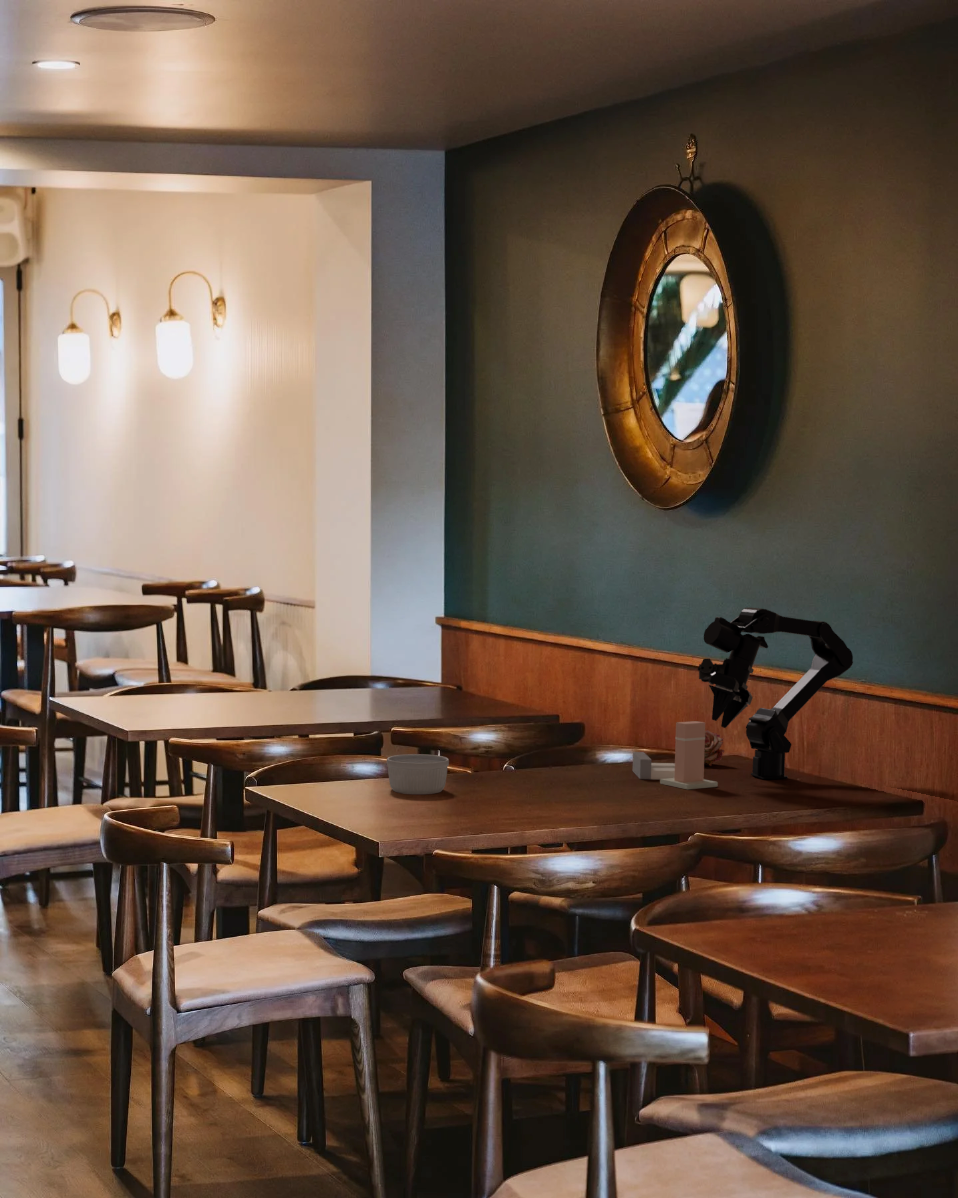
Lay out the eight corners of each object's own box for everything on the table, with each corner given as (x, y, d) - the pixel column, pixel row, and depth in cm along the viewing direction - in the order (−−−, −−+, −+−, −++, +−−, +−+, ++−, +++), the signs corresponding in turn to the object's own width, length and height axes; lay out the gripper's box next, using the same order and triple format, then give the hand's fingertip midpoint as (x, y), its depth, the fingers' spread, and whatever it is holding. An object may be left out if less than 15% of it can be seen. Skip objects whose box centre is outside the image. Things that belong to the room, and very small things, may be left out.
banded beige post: (694, 778, 364) (696, 721, 364) (703, 780, 362) (705, 722, 361) (674, 780, 361) (675, 722, 360) (683, 782, 358) (685, 724, 358)
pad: (690, 780, 368) (690, 776, 368) (717, 786, 360) (717, 782, 360) (660, 783, 363) (660, 779, 363) (687, 789, 355) (687, 785, 355)
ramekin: (391, 796, 338) (391, 763, 337) (381, 786, 351) (382, 754, 350) (453, 795, 340) (454, 762, 340) (441, 785, 353) (442, 753, 353)
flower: (681, 753, 400) (681, 730, 395) (717, 746, 401) (717, 722, 396) (693, 780, 393) (693, 756, 388) (729, 773, 393) (730, 749, 389)
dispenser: (683, 772, 381) (683, 752, 381) (692, 780, 369) (692, 760, 369) (632, 771, 380) (633, 752, 380) (639, 779, 369) (640, 759, 368)
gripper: (718, 658, 382) (695, 720, 381) (699, 640, 366) (675, 705, 364) (762, 672, 378) (740, 735, 376) (745, 655, 361) (721, 720, 359)
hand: (718, 723), depth 369 cm, fingers open, 9 cm apart
